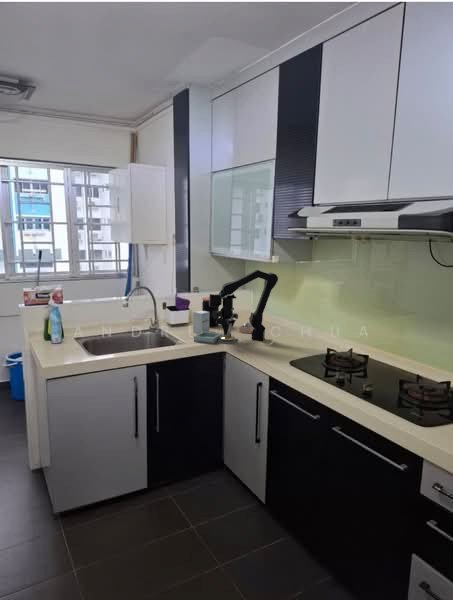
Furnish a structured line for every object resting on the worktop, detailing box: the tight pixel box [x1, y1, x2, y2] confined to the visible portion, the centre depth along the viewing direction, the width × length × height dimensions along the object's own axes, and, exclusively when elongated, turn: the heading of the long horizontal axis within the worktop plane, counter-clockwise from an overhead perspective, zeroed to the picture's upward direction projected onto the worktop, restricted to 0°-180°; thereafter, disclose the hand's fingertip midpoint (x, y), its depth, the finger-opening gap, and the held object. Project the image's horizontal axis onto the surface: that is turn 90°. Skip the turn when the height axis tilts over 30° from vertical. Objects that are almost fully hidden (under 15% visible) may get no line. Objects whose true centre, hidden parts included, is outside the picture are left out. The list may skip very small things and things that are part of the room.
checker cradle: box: [216, 337, 238, 345], centre depth 224 cm, size 9×9×2 cm
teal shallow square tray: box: [193, 331, 223, 345], centre depth 226 cm, size 12×12×3 cm
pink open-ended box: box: [238, 323, 254, 335], centre depth 243 cm, size 7×7×4 cm
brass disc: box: [220, 335, 236, 341], centre depth 224 cm, size 8×8×1 cm
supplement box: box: [192, 310, 210, 334], centre depth 243 cm, size 7×7×13 cm
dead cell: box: [243, 321, 251, 328], centre depth 243 cm, size 4×4×6 cm
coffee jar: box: [201, 296, 220, 328], centre depth 260 cm, size 11×11×18 cm
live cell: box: [223, 323, 232, 338], centre depth 223 cm, size 4×4×9 cm
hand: (227, 333), depth 223 cm, fingers closed on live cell, 4 cm apart
